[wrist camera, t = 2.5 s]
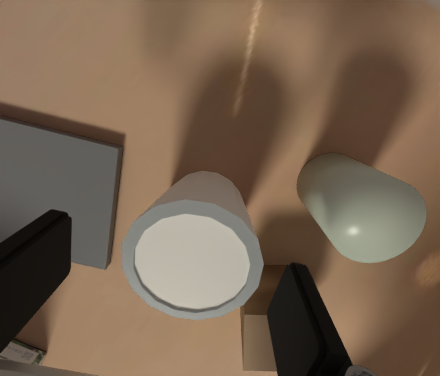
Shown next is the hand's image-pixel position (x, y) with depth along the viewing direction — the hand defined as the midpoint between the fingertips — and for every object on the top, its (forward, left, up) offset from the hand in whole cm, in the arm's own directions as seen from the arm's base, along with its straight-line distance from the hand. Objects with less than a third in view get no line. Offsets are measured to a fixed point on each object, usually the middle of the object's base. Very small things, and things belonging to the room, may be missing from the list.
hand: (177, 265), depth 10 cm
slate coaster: (+11, +3, -8) cm, 14 cm away
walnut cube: (-8, +7, -8) cm, 13 cm away
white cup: (-1, +1, -8) cm, 8 cm away
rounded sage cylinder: (-9, -3, -8) cm, 12 cm away
